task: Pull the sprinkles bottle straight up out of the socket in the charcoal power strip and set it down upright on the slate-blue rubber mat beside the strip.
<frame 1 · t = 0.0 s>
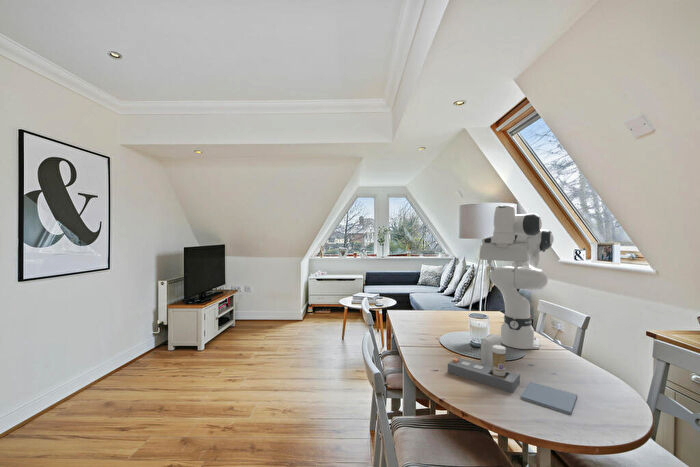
hand: (502, 271, 140), 39 cm above the table, tool pointing down, fingers open, 8 cm apart
sprinkles bottle: (498, 383, 116), resting in power strip
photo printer: (491, 364, 134), on the table
rubber mat: (548, 397, 106), on the table
power strip: (482, 377, 121), on the table
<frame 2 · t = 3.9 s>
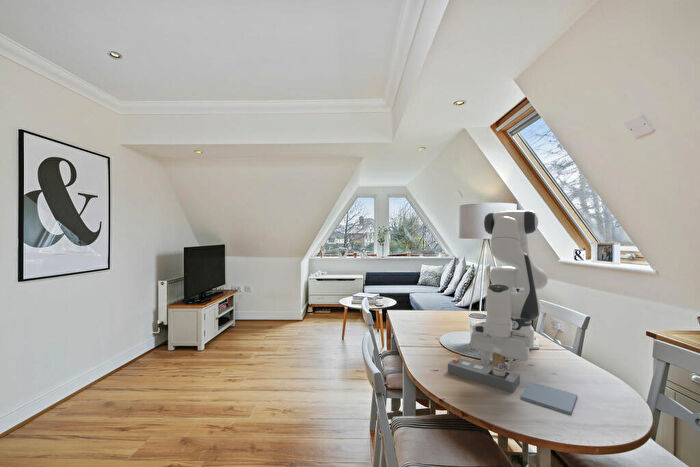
hand: (498, 366, 116), 6 cm above the table, tool pointing down, fingers closed on sprinkles bottle, 4 cm apart
sprinkles bottle: (498, 383, 116), resting in power strip, touching gripper
everything else where it was.
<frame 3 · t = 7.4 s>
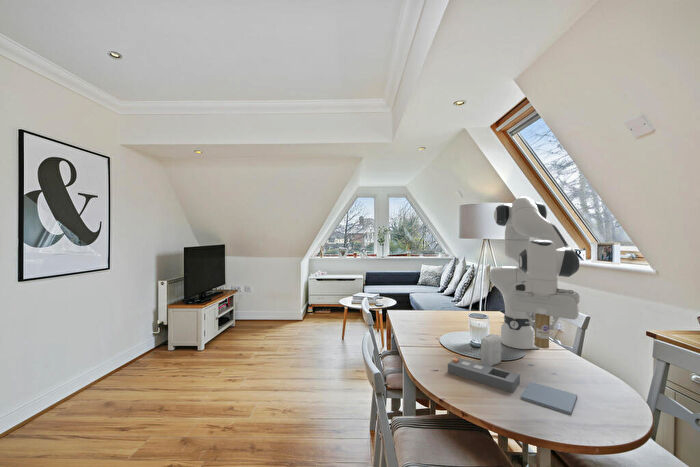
hand: (542, 327, 107), 23 cm above the table, tool pointing down, fingers closed on sprinkles bottle, 4 cm apart
sprinkles bottle: (541, 347, 107), point 17 cm above the table, touching gripper
everything else where it was.
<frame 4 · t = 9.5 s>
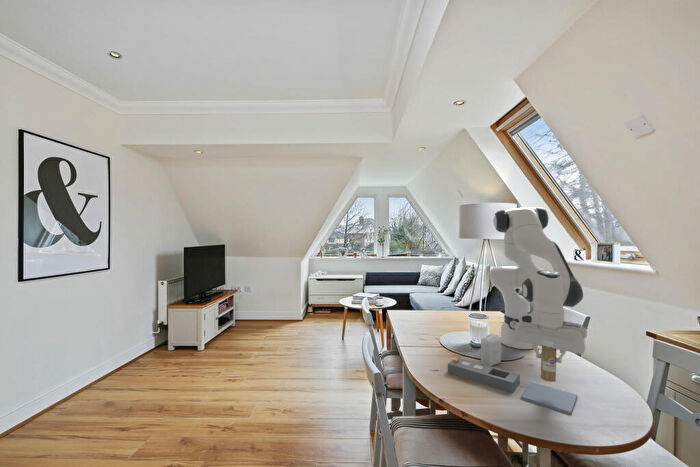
hand: (548, 359, 106), 13 cm above the table, tool pointing down, fingers closed on sprinkles bottle, 4 cm apart
sprinkles bottle: (548, 379, 106), point 6 cm above the table, touching gripper
everything else where it was.
when the fingers open (8 cm above the table, at t = 11.2 s): sprinkles bottle drops 1 cm, resting on rubber mat.
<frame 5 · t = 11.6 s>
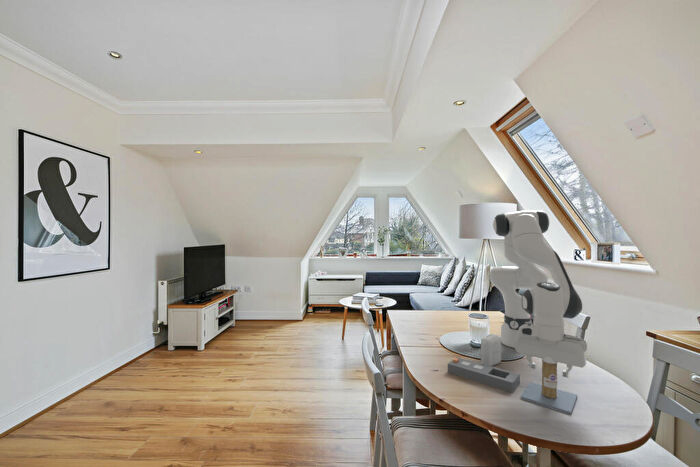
hand: (548, 372, 106), 9 cm above the table, tool pointing down, fingers open, 8 cm apart
sprinkles bottle: (549, 395, 106), point 1 cm above the table, touching rubber mat
everything else where it was.
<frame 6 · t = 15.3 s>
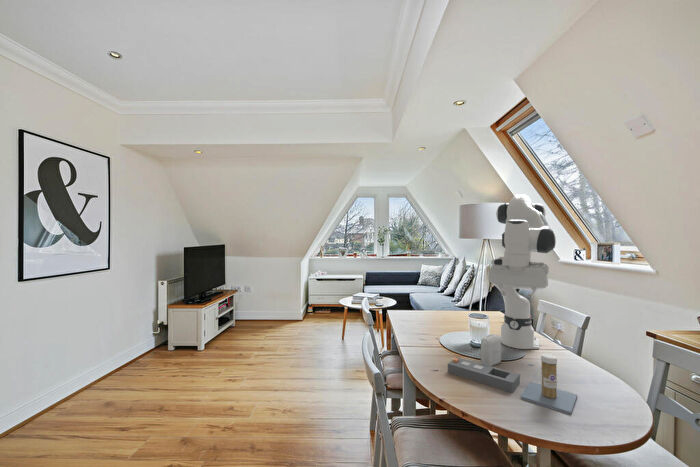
hand: (517, 297, 120), 31 cm above the table, tool pointing down, fingers open, 8 cm apart
nothing on the table moved.
at the end: sprinkles bottle inside the target area on the rubber mat (0.1 cm from its centre), point 0.6 cm above the rubber mat's base; sprinkles bottle tilted 0°; the gripper is holding nothing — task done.
